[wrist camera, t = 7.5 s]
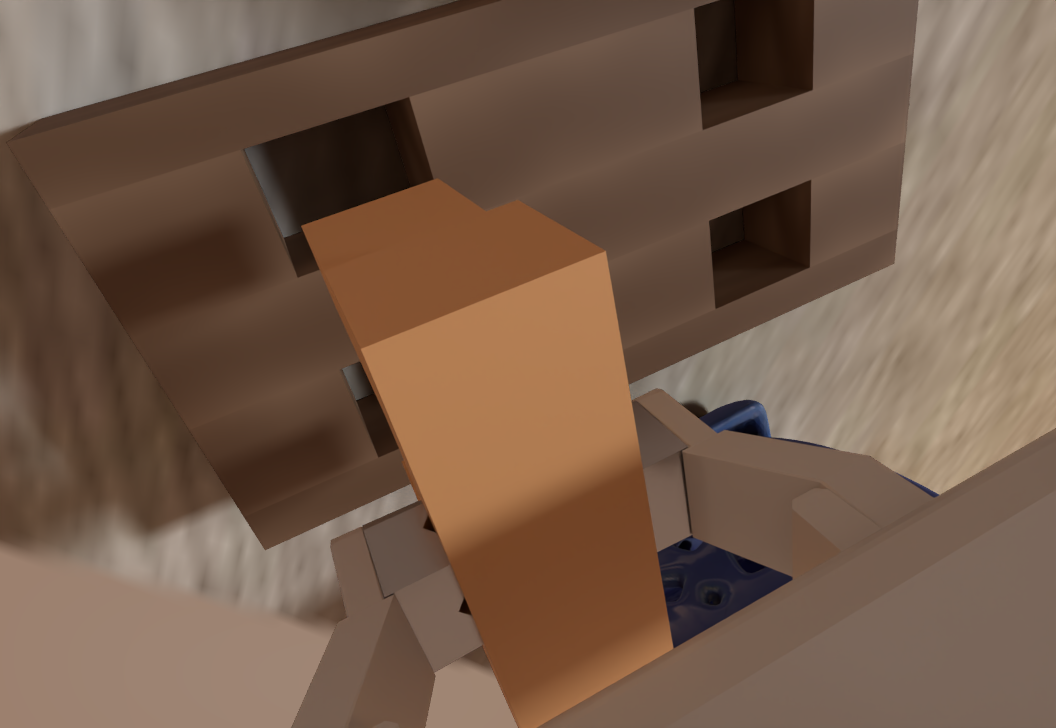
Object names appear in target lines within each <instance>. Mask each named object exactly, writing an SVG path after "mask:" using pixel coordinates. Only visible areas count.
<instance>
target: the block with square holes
mask: <svg viewBox="0 0 1056 728" xmlns="http://www.w3.org/2000/svg"><path fill="white" fill-rule="evenodd" d="M715 1H718V0H460V1H456V2H453V3H449V4H446V5H442V6H439V7H435V8H432V9H428V10H425V11H421V12H418V13H414V14H410V15H407V16H403V17H400V18H396V19H393V20H389V21H386V22H382V23H379V24H375V25H371V26H368V27H364V28H361V29H357V30H354V31H350V32H347V33H343V34H340V35H336V36H332V37H329V38H325V39H322V40H318V41H315V42H311V43H308V44H304V45H301V46H297V47H294V48H290V49H286V50H283V51H279V52H276V53H272V54H269V55H265V56H262V57H258V58H255V59H251V60H247V61H244V62H240V63H237V64H233V65H230V66H226V67H223V68H219V69H216V70H212V71H208V72H205V73H201V74H198V75H194V76H191V77H187V78H184V79H180V80H177V81H173V82H170V83H166V84H162V85H159V86H155V87H152V88H148V89H145V90H141V91H138V92H134V93H131V94H127V95H123V96H120V97H116V98H113V99H109V100H106V101H102V102H99V103H95V104H92V105H88V106H84V107H81V108H77V109H74V110H70V111H67V112H63V113H60V114H56V115H53V116H49V117H46V118H42V119H40V120H39V121H37V122H36V123H34V124H33V125H31V126H30V127H28V128H27V129H25V130H24V131H22V132H21V133H20V134H18V135H17V136H15V137H14V138H12V139H11V140H9V141H8V142H6V143H7V145H8V146H9V148H10V149H11V151H12V153H13V154H14V156H15V157H16V159H17V160H18V162H19V164H20V165H21V167H22V168H23V170H24V171H25V173H26V175H27V176H28V178H29V179H30V181H31V182H32V184H33V186H34V187H35V189H36V190H37V192H38V193H39V195H40V197H41V198H42V200H43V201H44V203H45V204H46V206H47V208H48V209H49V211H50V212H51V214H52V215H53V217H54V219H55V220H56V222H57V223H58V225H59V227H60V228H61V230H62V231H63V233H64V234H65V236H66V238H67V239H68V241H69V242H70V244H71V245H72V247H73V249H74V250H75V252H76V253H77V255H78V256H79V258H80V260H81V261H82V263H83V264H84V266H85V267H86V269H87V271H88V272H89V274H90V275H91V277H92V278H93V280H94V282H95V283H96V285H97V286H98V288H99V289H100V291H101V293H102V294H103V296H104V297H105V299H106V300H107V302H108V304H109V305H110V307H111V308H112V310H113V312H114V313H115V315H116V316H117V318H118V319H119V321H120V323H121V324H122V326H123V327H124V329H125V330H126V332H127V334H128V335H129V337H130V338H131V340H132V341H133V343H134V345H135V346H136V348H137V349H138V351H139V352H140V354H141V356H142V357H143V359H144V360H145V362H146V363H147V365H148V367H149V368H150V370H151V371H152V373H153V374H154V376H155V378H156V379H157V381H158V382H159V384H160V385H161V387H162V389H163V390H164V392H165V393H166V395H167V397H168V398H169V400H170V401H171V403H172V404H173V406H174V408H175V409H176V411H177V412H178V414H179V415H180V417H181V419H182V420H183V422H184V423H185V425H186V426H187V428H188V430H189V431H190V433H191V434H192V436H193V437H194V439H195V441H196V442H197V444H198V445H199V447H200V448H201V450H202V452H203V453H204V455H205V456H206V458H207V459H208V461H209V463H210V464H211V466H212V467H213V469H214V471H215V472H216V474H217V475H218V477H219V478H220V480H221V482H222V483H223V485H224V486H225V488H226V489H227V491H228V493H229V494H230V496H231V497H232V499H233V500H234V502H235V504H236V505H237V507H238V508H239V510H240V511H241V513H242V515H243V516H244V518H245V519H246V521H247V522H248V524H249V526H250V527H251V529H252V530H253V532H254V533H255V535H256V537H257V538H258V540H259V541H260V543H261V544H262V546H263V548H264V549H265V550H267V549H269V548H271V547H273V546H275V545H278V544H280V543H282V542H284V541H286V540H289V539H291V538H293V537H295V536H297V535H300V534H302V533H304V532H306V531H308V530H310V529H313V528H315V527H317V526H319V525H321V524H324V523H326V522H328V521H330V520H332V519H335V518H337V517H339V516H341V515H343V514H346V513H348V512H350V511H352V510H354V509H357V508H359V507H361V506H363V505H365V504H368V503H370V502H372V501H374V500H376V499H379V498H381V497H383V496H385V495H387V494H389V493H392V492H394V491H396V490H398V489H400V488H403V487H405V486H407V485H409V484H411V483H410V480H409V478H408V476H407V473H406V471H405V469H404V466H403V464H402V461H404V459H403V457H402V455H401V452H400V450H399V447H398V445H397V443H396V440H395V438H394V436H393V433H392V431H391V429H390V426H389V424H388V421H387V419H386V417H385V414H384V412H383V410H382V408H381V406H380V403H379V401H378V399H377V397H376V395H375V394H373V395H370V396H368V397H365V398H363V399H361V400H358V401H356V400H355V397H354V395H353V393H352V391H351V388H350V386H349V384H348V382H347V379H346V377H345V375H344V373H343V370H342V368H345V367H347V366H350V365H352V364H355V363H357V362H360V360H359V357H358V355H357V353H356V351H355V349H354V346H353V344H352V342H351V340H350V338H349V335H348V333H347V331H346V329H345V327H344V324H343V322H342V320H341V318H340V316H339V313H338V311H337V309H336V307H335V304H334V302H333V300H332V297H331V295H330V293H329V290H328V288H327V286H326V283H325V281H324V279H323V276H322V274H321V272H320V269H319V267H318V265H317V262H316V260H315V257H314V255H313V253H312V250H311V248H310V246H309V243H308V241H307V239H306V236H305V234H304V232H300V233H298V234H295V235H292V236H289V237H286V238H283V236H282V233H281V231H280V229H279V227H278V224H277V222H276V220H275V218H274V215H273V213H272V211H271V209H270V206H269V204H268V202H267V200H266V197H265V195H264V193H263V191H262V188H261V186H260V184H259V182H258V180H257V177H256V175H255V173H254V171H253V168H252V166H251V164H250V162H249V159H248V157H247V155H246V153H245V150H244V149H245V148H248V147H251V146H254V145H257V144H261V143H264V142H267V141H270V140H273V139H277V138H280V137H283V136H286V135H289V134H293V133H296V132H299V131H302V130H305V129H309V128H312V127H315V126H318V125H321V124H325V123H328V122H331V121H334V120H337V119H341V118H344V117H347V116H350V115H353V114H357V113H360V112H363V111H366V110H369V109H373V108H376V107H379V106H382V105H385V108H386V111H387V115H388V118H389V121H390V124H391V127H392V130H393V133H394V136H395V140H396V143H397V146H398V149H399V152H400V155H401V158H402V161H403V165H404V168H405V171H406V174H407V177H408V180H409V183H410V186H411V187H414V186H417V185H420V184H423V183H425V182H428V181H431V180H434V179H437V178H438V179H440V180H441V181H443V182H444V183H446V184H447V185H449V186H450V187H451V188H453V189H454V190H456V191H457V192H459V193H460V194H462V195H463V196H465V197H466V198H467V199H469V200H470V201H472V202H473V203H475V204H476V205H478V206H479V207H481V208H482V209H483V210H485V211H489V210H491V209H494V208H497V207H500V206H502V205H505V204H508V203H510V202H513V201H516V200H519V201H521V202H522V203H524V204H526V205H528V206H529V207H531V208H533V209H534V210H536V211H538V212H540V213H541V214H543V215H545V216H547V217H548V218H550V219H552V220H553V221H555V222H557V223H559V224H560V225H562V226H564V227H565V228H567V229H569V230H571V231H572V232H574V233H576V234H578V235H579V236H581V237H583V238H584V239H586V240H588V241H590V242H591V243H593V244H595V245H596V246H598V247H600V248H602V249H603V250H605V251H606V255H607V261H608V267H609V272H610V278H611V284H612V290H613V296H614V302H615V308H616V314H617V319H618V325H619V331H620V337H621V343H622V349H623V355H624V361H625V366H626V372H627V378H628V384H631V383H633V382H635V381H637V380H640V379H642V378H644V377H646V376H648V375H651V374H653V373H655V372H657V371H659V370H662V369H664V368H666V367H668V366H670V365H673V364H675V363H677V362H679V361H681V360H684V359H686V358H688V357H690V356H692V355H695V354H697V353H699V352H701V351H703V350H705V349H708V348H710V347H712V346H714V345H716V344H719V343H721V342H723V341H725V340H727V339H730V338H732V337H734V336H736V335H738V334H741V333H743V332H745V331H747V330H749V329H752V328H754V327H756V326H758V325H760V324H763V323H765V322H767V321H769V320H771V319H773V318H776V317H778V316H780V315H782V314H784V313H787V312H789V311H791V310H793V309H795V308H798V307H800V306H802V305H804V304H806V303H809V302H811V301H813V300H815V299H817V298H820V297H822V296H824V295H826V294H828V293H831V292H833V291H835V290H837V289H839V288H842V287H844V286H846V285H848V284H850V283H852V282H855V281H857V280H859V279H861V278H863V277H866V276H868V275H870V274H872V273H874V272H877V271H879V270H881V269H883V268H885V267H888V266H890V265H892V264H894V261H895V250H896V239H897V229H898V218H899V207H900V196H901V185H902V174H903V163H904V152H905V141H906V130H907V119H908V109H909V98H910V87H911V76H912V65H913V54H914V43H915V32H916V21H917V10H918V0H734V4H735V28H736V51H737V75H738V80H736V81H734V82H731V83H728V84H725V85H722V86H719V87H716V88H713V89H711V90H708V91H705V92H702V93H700V87H699V73H698V59H697V45H696V31H695V17H694V8H696V7H699V6H702V5H705V4H708V3H712V2H715ZM742 207H743V219H744V240H742V241H740V242H737V243H735V244H732V245H730V246H728V247H725V248H723V249H720V250H718V251H716V252H713V253H711V241H710V227H709V221H710V220H712V219H715V218H717V217H720V216H722V215H725V214H727V213H729V212H732V211H734V210H737V209H739V208H742Z"/></svg>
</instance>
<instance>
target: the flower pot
mask: <svg viewBox="0 0 1056 728" xmlns="http://www.w3.org/2000/svg"><path fill="white" fill-rule="evenodd" d="M699 419H700V420H701V421H702V422H704V423H705V424H706V425H708V426H709V427H710V428H711V429H713V430H714V431H715V432H716V433H720V432H722V431H724V430H728V431H733V432H739V433H745V434H750V435H756V436H761V437H767V438H771V435H770V429H769V423H768V419H767V414H766V411H765V409H764V407H763V405H762V404H760V403H759V402H756V401H753V400H743V401H737V402H733V403H730V404H727V405H725V406H722V407H720V408H717V409H715V410H713V411H712V412H710V413H708V414H706V415H704V416H702V417H700V418H699ZM772 439H778V440H784V441H789V442H795V443H800V444H806V445H811V446H817V447H823V448H828V449H833V448H829V447H826V446H822V445H818V444H814V443H809V442H803V441H798V440H791V439H784V438H772ZM834 450H836V449H834ZM839 451H840V450H839ZM895 473H896V472H895ZM897 474H898V473H897ZM898 475H900V474H898ZM900 476H901V477H903V478H904V479H906V480H907V481H909V482H910V483H912V484H913V485H915V486H916V487H918V488H920V489H921V490H923V491H924V492H926V493H927V494H929V495H930V496H932V497H933V498H935V497H937V496H939V494H937V493H935V492H933V491H931V490H930V489H928V488H926V487H924V486H922V485H920V484H918V483H916V482H914V481H912V480H910V479H908V478H906V477H904V476H902V475H900ZM657 554H658V560H659V566H660V572H661V578H662V584H663V590H664V596H665V601H666V607H667V613H668V619H669V625H670V631H671V637H672V643H673V648H676V647H677V646H679V645H681V644H682V643H684V642H686V641H688V640H689V639H691V638H693V637H695V636H696V635H698V634H700V633H702V632H703V631H705V630H707V629H708V628H710V627H712V626H714V625H715V624H717V623H719V622H721V621H722V620H724V619H726V618H728V617H729V616H731V615H733V614H734V613H736V612H738V611H740V610H741V609H743V608H745V607H747V606H748V605H750V604H752V603H753V602H755V601H757V600H759V599H760V598H762V597H764V596H766V595H767V594H769V593H771V592H773V591H774V590H776V589H778V588H779V587H781V586H783V585H785V584H786V583H788V582H790V581H792V580H793V577H792V576H789V575H787V574H784V573H782V572H779V571H777V570H774V569H771V568H769V567H766V566H764V565H761V564H759V563H756V562H754V561H751V560H749V559H746V558H744V557H741V556H739V555H736V554H734V553H731V552H729V551H726V550H724V549H721V548H719V547H716V546H714V545H711V544H709V543H706V542H704V541H701V540H699V539H696V538H694V537H693V535H691V536H689V537H687V538H685V539H683V540H681V541H679V542H677V543H675V544H673V545H671V546H669V547H667V548H665V549H663V550H661V551H659V552H657Z"/></svg>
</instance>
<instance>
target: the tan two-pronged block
mask: <svg viewBox="0 0 1056 728" xmlns="http://www.w3.org/2000/svg"><path fill="white" fill-rule="evenodd" d="M301 227H302V229H303V232H304V234H305V236H306V239H307V241H308V243H309V246H310V248H311V250H312V253H313V255H314V257H315V260H316V262H317V265H318V267H319V269H320V272H321V274H322V276H323V279H324V281H325V283H326V286H327V288H328V290H329V293H330V295H331V297H332V300H333V302H334V304H335V307H336V309H337V311H338V313H339V316H340V318H341V320H342V322H343V324H344V327H345V329H346V331H347V333H348V335H349V338H350V340H351V342H352V344H353V346H354V349H355V351H356V353H357V355H358V357H359V360H360V362H361V364H362V366H363V368H364V371H365V373H366V375H367V377H368V379H369V381H370V384H371V386H372V388H373V390H374V392H375V395H376V397H377V399H378V401H379V403H380V406H381V408H382V410H383V412H384V414H385V417H386V419H387V421H388V424H389V426H390V429H391V431H392V433H393V436H394V438H395V440H396V443H397V445H398V447H399V450H400V452H401V455H402V457H403V459H404V461H402V464H403V466H404V469H405V471H406V473H407V476H408V478H409V480H410V483H411V485H412V487H413V490H414V492H415V494H416V497H417V499H418V501H420V500H422V502H423V504H424V507H425V509H426V511H427V513H428V516H429V518H430V520H431V523H432V525H433V527H434V530H435V532H436V533H437V536H438V538H439V540H440V542H441V544H442V547H443V549H444V551H445V553H446V555H447V558H448V560H449V562H450V564H451V567H452V569H453V571H454V574H455V576H456V579H457V581H458V583H459V586H460V588H461V590H462V593H463V595H464V599H465V601H466V603H467V605H468V608H469V610H470V612H471V614H472V617H473V619H474V621H475V624H476V626H477V629H478V631H479V633H480V636H481V638H482V640H483V643H484V645H482V646H483V649H484V651H485V653H486V655H487V658H488V660H489V662H490V665H491V667H492V670H493V672H494V674H495V676H496V679H497V681H498V683H499V685H500V687H501V690H502V692H503V695H504V697H505V699H506V701H507V703H508V706H509V708H510V710H511V712H512V715H513V717H514V719H515V722H516V724H517V726H518V728H537V727H539V726H540V725H542V724H544V723H545V722H547V721H549V720H551V719H552V718H554V717H556V716H558V715H559V714H561V713H563V712H565V711H566V710H568V709H570V708H572V707H573V706H575V705H577V704H578V703H580V702H582V701H584V700H585V699H587V698H589V697H591V696H592V695H594V694H596V693H598V692H599V691H601V690H603V689H604V688H606V687H608V686H610V685H611V684H613V683H615V682H617V681H618V680H620V679H622V678H624V677H625V676H627V675H629V674H630V673H632V672H634V671H636V670H637V669H639V668H641V667H643V666H644V665H646V664H648V663H650V662H651V661H653V660H655V659H656V658H658V657H660V656H662V655H663V654H665V653H667V652H669V651H670V650H672V649H674V648H673V643H672V637H671V631H670V625H669V619H668V613H667V607H666V601H665V596H664V590H663V584H662V578H661V572H660V566H659V560H658V554H657V549H656V543H655V537H654V531H653V525H652V519H651V513H650V507H649V502H648V496H647V490H646V484H645V478H644V472H643V466H642V460H641V455H640V449H639V443H638V437H637V431H636V425H635V419H634V413H633V408H632V402H631V396H630V390H629V384H628V378H627V372H626V366H625V361H624V355H623V349H622V343H621V337H620V331H619V325H618V319H617V314H616V308H615V302H614V296H613V290H612V284H611V278H610V272H609V267H608V261H607V255H606V251H605V250H603V249H602V248H600V247H598V246H596V245H595V244H593V243H591V242H590V241H588V240H586V239H584V238H583V237H581V236H579V235H578V234H576V233H574V232H572V231H571V230H569V229H567V228H565V227H564V226H562V225H560V224H559V223H557V222H555V221H553V220H552V219H550V218H548V217H547V216H545V215H543V214H541V213H540V212H538V211H536V210H534V209H533V208H531V207H529V206H528V205H526V204H524V203H522V202H521V201H519V200H516V201H513V202H510V203H508V204H505V205H502V206H500V207H497V208H494V209H491V210H489V211H485V210H483V209H482V208H481V207H479V206H478V205H476V204H475V203H473V202H472V201H470V200H469V199H467V198H466V197H465V196H463V195H462V194H460V193H459V192H457V191H456V190H454V189H453V188H451V187H450V186H449V185H447V184H446V183H444V182H443V181H441V180H440V179H438V178H437V179H434V180H431V181H428V182H425V183H423V184H420V185H417V186H414V187H411V188H408V189H405V190H402V191H400V192H397V193H394V194H391V195H388V196H385V197H382V198H379V199H377V200H374V201H371V202H368V203H365V204H362V205H359V206H356V207H354V208H351V209H348V210H345V211H342V212H339V213H336V214H333V215H331V216H328V217H325V218H322V219H319V220H316V221H313V222H310V223H308V224H305V225H302V226H301Z"/></svg>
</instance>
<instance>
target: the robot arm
mask: <svg viewBox="0 0 1056 728" xmlns="http://www.w3.org/2000/svg"><path fill="white" fill-rule="evenodd" d="M631 402H632V408H633V413H634V419H635V425H636V431H637V437H638V443H639V449H640V455H641V460H642V466H643V472H644V478H645V484H646V490H647V496H648V502H649V507H650V513H651V519H652V525H653V531H654V537H655V543H656V549H657V552H659V551H661V550H663V549H665V548H667V547H669V546H671V545H673V544H675V543H677V542H679V541H681V540H683V539H685V538H687V537H689V536H691V535H693V537H694V538H696V539H699V540H701V541H704V542H706V543H709V544H711V545H714V546H716V547H719V548H721V549H724V550H726V551H729V552H731V553H734V554H736V555H739V556H741V557H744V558H746V559H749V560H751V561H754V562H756V563H759V564H761V565H764V566H766V567H769V568H771V569H774V570H777V571H779V572H782V573H784V574H787V575H789V576H792V577H793V580H792V581H790V582H788V583H786V584H785V585H783V586H781V587H779V588H778V589H776V590H774V591H773V592H771V593H769V594H767V595H766V596H764V597H762V598H760V599H759V600H757V601H755V602H753V603H752V604H750V605H748V606H747V607H745V608H743V609H741V610H740V611H738V612H736V613H734V614H733V615H731V616H729V617H728V618H726V619H724V620H722V621H721V622H719V623H717V624H715V625H714V626H712V627H710V628H708V629H707V630H705V631H703V632H702V633H700V634H698V635H696V636H695V637H693V638H691V639H689V640H688V641H686V642H684V643H682V644H681V645H679V646H677V647H676V648H674V649H672V650H670V651H669V652H667V653H665V654H663V655H662V656H660V657H658V658H656V659H655V660H653V661H651V662H650V663H648V664H646V665H644V666H643V667H641V668H639V669H637V670H636V671H634V672H632V673H630V674H629V675H627V676H625V677H624V678H622V679H620V680H618V681H617V682H615V683H613V684H611V685H610V686H608V687H606V688H604V689H603V690H601V691H599V692H598V693H596V694H594V695H592V696H591V697H589V698H587V699H585V700H584V701H582V702H580V703H578V704H577V705H575V706H573V707H572V708H570V709H568V710H566V711H565V712H563V713H561V714H559V715H558V716H556V717H554V718H552V719H551V720H549V721H547V722H545V723H544V724H542V725H540V726H539V727H537V728H1056V428H1055V429H1053V430H1052V431H1050V432H1048V433H1046V434H1045V435H1043V436H1041V437H1039V438H1038V439H1036V440H1034V441H1032V442H1031V443H1029V444H1027V445H1026V446H1024V447H1022V448H1020V449H1019V450H1017V451H1015V452H1013V453H1012V454H1010V455H1008V456H1006V457H1005V458H1003V459H1001V460H1000V461H998V462H996V463H994V464H993V465H991V466H989V467H987V468H986V469H984V470H982V471H980V472H979V473H977V474H975V475H973V476H972V477H970V478H968V479H967V480H965V481H963V482H961V483H960V484H958V485H956V486H954V487H953V488H951V489H949V490H947V491H946V492H944V493H942V494H941V495H939V496H937V497H935V498H933V497H932V496H930V495H929V494H927V493H926V492H924V491H923V490H921V489H920V488H918V487H916V486H915V485H913V484H912V483H910V482H909V481H907V480H906V479H904V478H903V477H901V476H900V475H898V474H897V473H895V472H894V471H892V470H891V469H889V468H888V467H886V466H885V465H883V464H881V463H880V462H878V461H877V460H875V459H874V458H872V457H871V456H867V455H862V454H856V453H850V452H845V451H839V450H834V449H828V448H823V447H817V446H811V445H806V444H800V443H795V442H789V441H784V440H778V439H772V438H767V437H761V436H756V435H750V434H745V433H739V432H733V431H728V430H724V431H722V432H720V433H716V432H715V431H714V430H713V429H711V428H710V427H709V426H708V425H706V424H705V423H704V422H702V421H701V420H700V419H699V418H697V417H696V416H695V415H694V414H692V413H691V412H690V411H689V410H687V409H686V408H685V407H684V406H682V405H681V404H680V403H678V402H677V401H676V400H675V399H673V398H672V397H671V396H670V395H668V394H667V393H666V392H665V391H663V390H662V389H657V388H656V389H654V390H652V391H650V392H648V393H646V394H644V395H642V396H640V397H638V398H636V399H634V400H632V401H631ZM330 548H331V552H332V557H333V561H334V565H335V569H336V573H337V578H338V582H339V586H340V590H341V594H342V599H343V603H344V607H345V611H346V615H347V618H345V619H343V620H341V621H339V622H338V623H337V625H336V627H335V630H334V632H333V634H332V637H331V639H330V641H329V643H328V646H327V648H326V650H325V653H324V655H323V657H322V660H321V661H320V664H319V666H318V669H317V671H316V673H315V675H314V677H313V680H312V682H311V684H310V686H309V689H308V691H307V694H306V696H305V698H304V700H303V702H302V705H301V707H300V709H299V711H298V714H297V716H296V718H295V721H294V723H293V725H292V728H425V726H426V721H427V716H428V710H429V706H430V700H431V695H432V691H433V686H434V680H435V674H434V672H436V671H438V670H440V669H441V668H443V667H445V666H447V665H448V664H450V663H452V662H454V661H456V660H457V659H459V658H461V657H463V656H464V655H466V654H468V653H470V652H471V651H473V650H475V649H477V648H478V647H480V646H482V645H484V643H483V640H482V638H481V636H480V633H479V631H478V629H477V626H476V624H475V621H474V619H473V617H472V614H471V612H470V610H469V608H468V605H467V603H466V601H465V599H464V595H463V593H462V590H461V588H460V586H459V583H458V581H457V579H456V576H455V574H454V571H453V569H452V567H451V564H450V562H449V560H448V558H447V555H446V553H445V551H444V549H443V547H442V544H441V542H440V540H439V538H438V536H437V533H436V532H435V530H434V527H433V525H432V523H431V520H430V518H429V516H428V513H427V511H426V509H425V507H424V504H423V502H422V500H420V501H417V502H415V503H413V504H410V505H408V506H406V507H404V508H401V509H399V510H397V511H395V512H392V513H390V514H388V515H385V516H383V517H381V518H379V519H376V520H374V521H372V522H370V523H367V524H365V525H363V527H359V528H357V529H355V530H353V531H350V532H348V533H346V534H344V535H341V536H339V537H337V538H335V539H332V540H331V546H330Z"/></svg>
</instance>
